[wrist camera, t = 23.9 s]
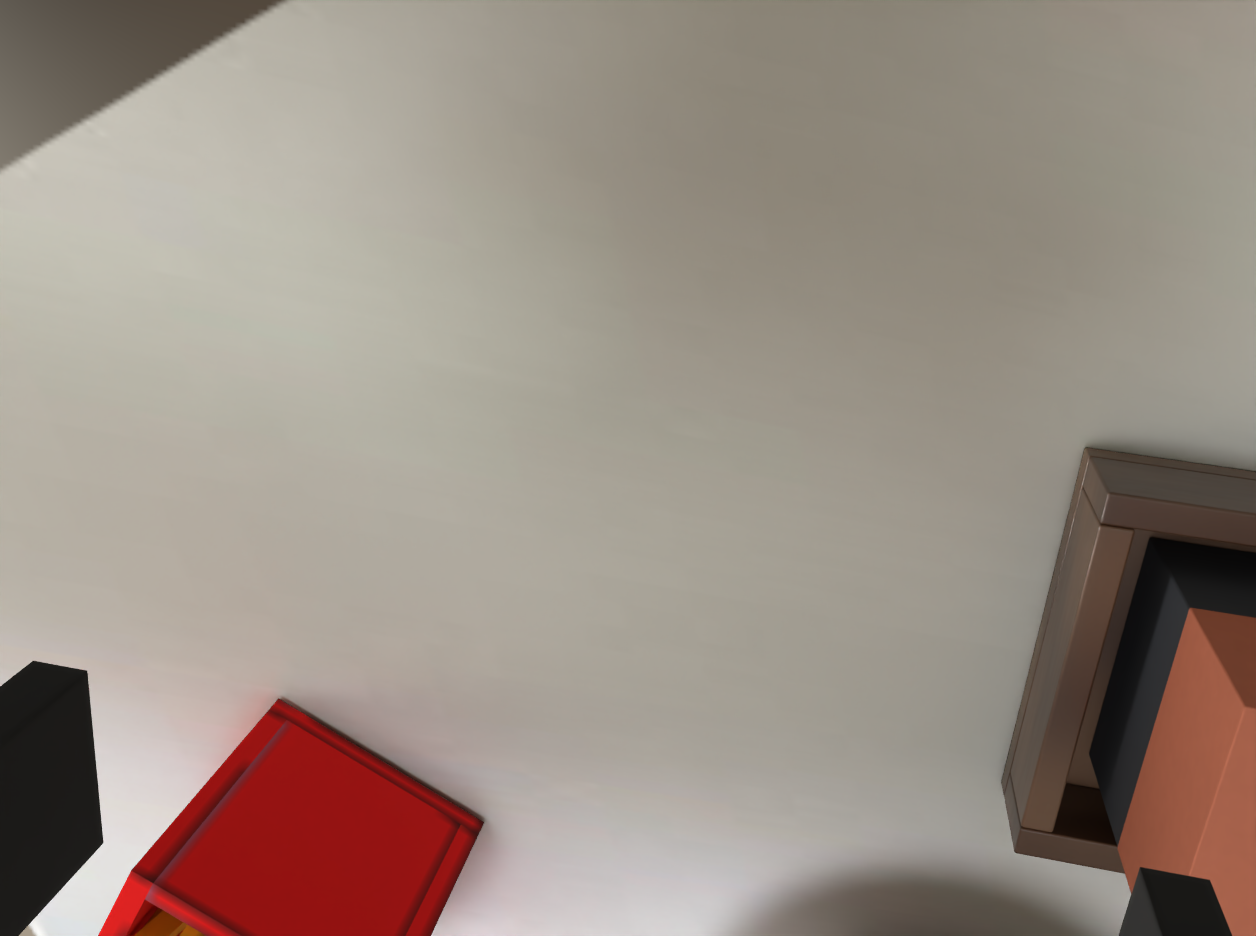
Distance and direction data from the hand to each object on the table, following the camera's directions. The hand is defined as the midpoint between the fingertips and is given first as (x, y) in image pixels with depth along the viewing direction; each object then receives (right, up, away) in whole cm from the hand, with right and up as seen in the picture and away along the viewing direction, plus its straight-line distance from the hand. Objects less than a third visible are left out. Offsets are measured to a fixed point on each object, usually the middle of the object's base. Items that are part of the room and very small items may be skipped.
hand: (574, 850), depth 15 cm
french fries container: (-10, -9, +32) cm, 35 cm away
